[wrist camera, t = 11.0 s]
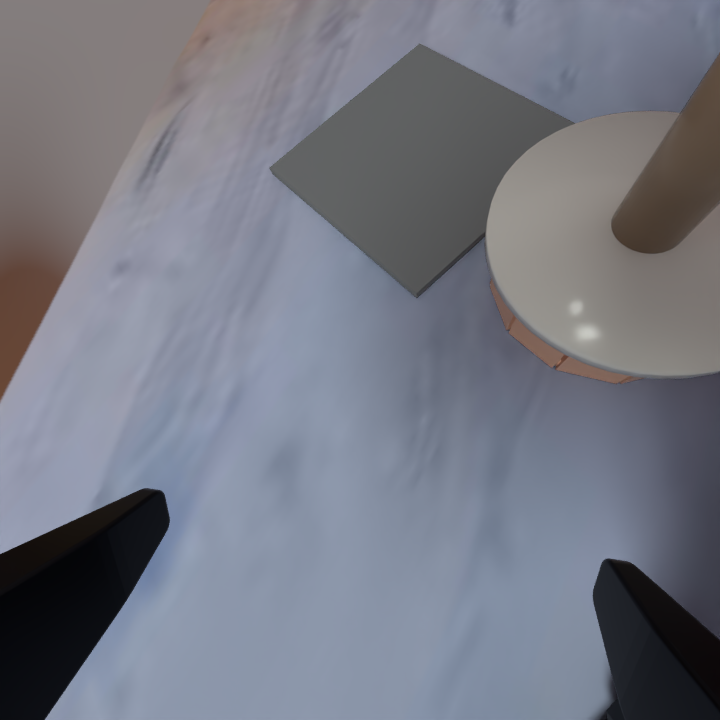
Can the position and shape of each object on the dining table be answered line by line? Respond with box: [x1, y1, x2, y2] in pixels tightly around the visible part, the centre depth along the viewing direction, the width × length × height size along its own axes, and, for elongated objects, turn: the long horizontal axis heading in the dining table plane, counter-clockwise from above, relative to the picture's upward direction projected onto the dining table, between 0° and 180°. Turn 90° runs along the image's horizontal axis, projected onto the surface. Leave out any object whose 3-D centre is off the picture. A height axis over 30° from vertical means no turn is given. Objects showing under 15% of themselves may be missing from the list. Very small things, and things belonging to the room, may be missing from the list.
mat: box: [270, 44, 575, 298], centre depth 27 cm, size 16×16×1 cm
